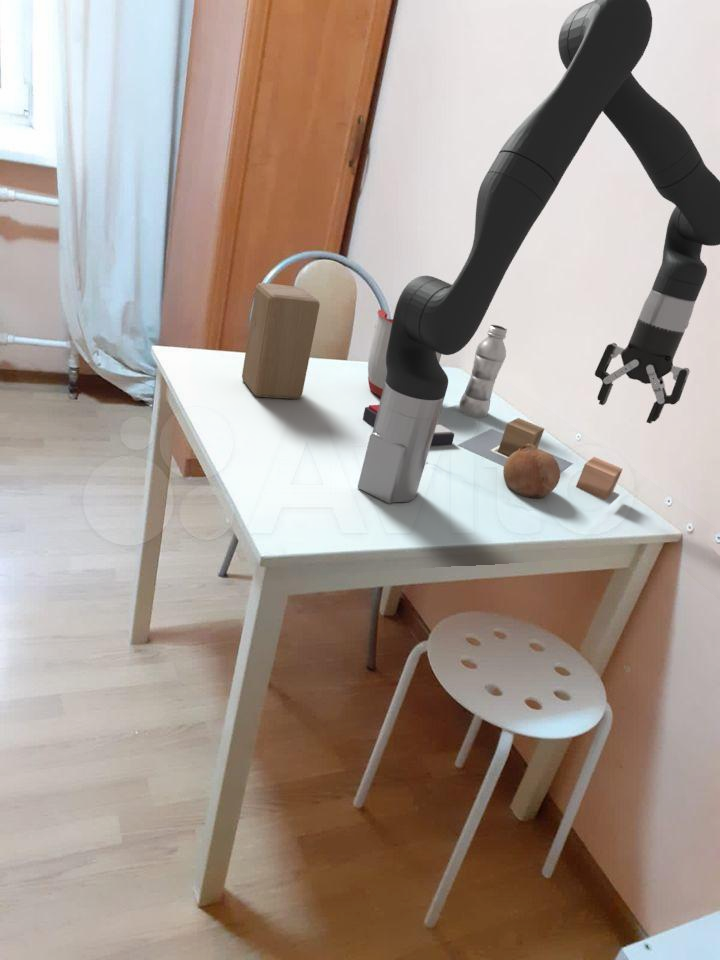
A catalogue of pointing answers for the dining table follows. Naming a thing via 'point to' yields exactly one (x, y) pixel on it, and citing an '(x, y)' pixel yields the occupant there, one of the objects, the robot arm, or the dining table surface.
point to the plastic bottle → (484, 373)
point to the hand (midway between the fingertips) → (625, 413)
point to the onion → (531, 472)
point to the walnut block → (519, 436)
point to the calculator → (439, 438)
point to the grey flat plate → (489, 446)
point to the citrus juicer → (380, 353)
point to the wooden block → (279, 340)
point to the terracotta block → (599, 477)
